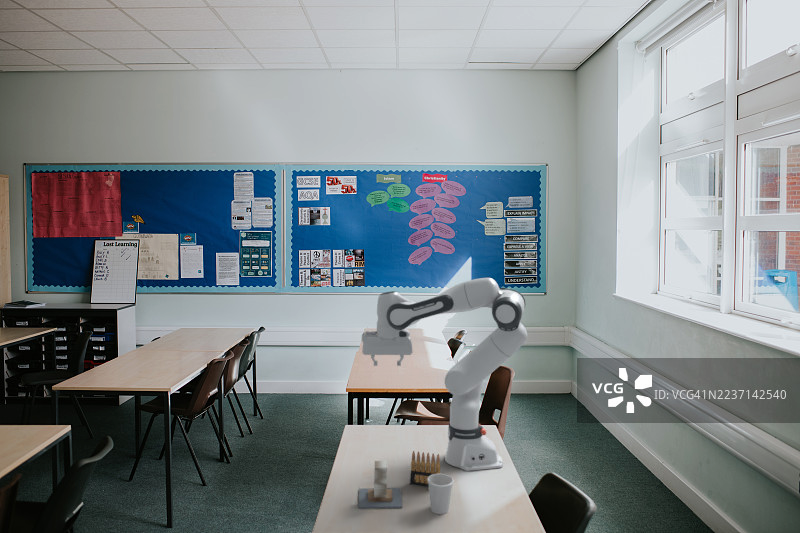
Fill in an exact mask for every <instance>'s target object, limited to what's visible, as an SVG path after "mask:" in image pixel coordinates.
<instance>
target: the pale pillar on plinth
mask: <svg viewBox="0 0 800 533" xmlns="http://www.w3.org/2000/svg"><path fill="white" fill-rule="evenodd" d="M373 469H374V470H373V472H374V473H373V474H374V476H373V479H374V480H373V481H374V482H373V484H374V485H373V488H374V489H368V502H393V497H392V489H387V488H388V487H387V486H388V483H387V480H388V464H387V460H374V468H373Z"/></svg>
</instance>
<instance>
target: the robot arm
mask: <svg viewBox="0 0 800 533" xmlns="http://www.w3.org/2000/svg"><path fill="white" fill-rule="evenodd" d="M480 308H490V309H491V314H492V318H493V320H494V321H495V322H496V325H497V327H496V328H495V330H494V331H492V332H491V333H490V334H489V335H488V336H486V337H485V338H484V339H483V340H482V341H481V342H480V343H479V344H478V345H476V347H475V348H473V349H472V350H471V351H470V352H469V353H467V354H465V356H463V358H461V359H460V360H459V361H458V362H456V363H455V364H454V365H453V366H452V367H451V368H450V369H449V370H448V371H447V373H446V375H445V376H444V386H445V388H446V390H447V391H448V393H450V394H451V395H452V398H451V401H450V406H449V407H450V408H449V423H448V427H447V428H448V429H447V430H448V432H447V437H448V442H447V444H448V445H447V448H446V453H445V457H444V460H445V462H446V463H447V464H449V465H450V466H453V467H455V468H458V469H461V470H463V471H466V472H469V471H470V472H471V471H479V470H480V471H481V470H491V469H499V468H502V467H504V466H503V465H504V460H503V458H502V456H501V455H500V454H499V452H498V450H497V446H496V444H495V443H494V442H493V441H492V440H491V439H490V438H488V437H487V436H486V435H487V430H486V429H485V428H484V427H483V426H482V425H481V423H479V415H480V411H479V410H480V401H481V397H482V391H483V390H482V389H483V384H484V380H485V379H486V378H488V377H489V376H490V375H491V374H492V373H493V372H495V371H496V370H497V369H498V368H499V367H500V366H502V365H503V364H504V363H505V362H507V360H509V358H511V357H512V356H513V355H515V353H516V352H518V350H520V349H521V347H522V346H523V345H524V343H525V342H526V341H527V339H528V332H527V329H526V327H525V326H524V325H523V324H522V322H521V319H522V317H523V315H524V314H525V313H524V312H525V310H526V309H525V308H526V299H525V297H524V295H523V294H522V293H521V292H520V291H517V290H515V289H511V288H507V287H500V286H499V284H498V283H497V281H496V280H495V279H493V278H491V277H482V278H481V277H480V278H474V279H470V280H466V281H462V282H460V283H457V284H455V285H453V286H451V287H449V288H448V289H446V290H445V291H443V292H441V293H439V294H437V295H436V296H434V297H431V298H429V299H426V300H421V301H418V302H417V301H415V300H411V299H409V298H406V297H404V296H403V295H401V294H400V293H399V292H398V291H394V290H393V291H386V292H382V293H380V294H379V295H378V298H377V305H376V314H377V321H376V331H365V332H363V333H362V334H361V342H362V348H361V349H362V354H363V355H364V356H370V359H372V362H373V367H376V366H378V360H376V359H375V357H376V356H399V360H396V363H397V364H396V366H397V367H401V365H402V361H403V360H404V359H405V356H411V355H412V354H413V352H414V351H413V342H412V338H411V337H410V335H411V334H410V331H409V329H407V328H408V327H411V326H412V325H415V324H417V323H418V322H419V321H421V320H423V319H426V318H429V317H432V316H436V315H440V314H441V315H443V314H444V315H445V314H453V313H454V314H455V313H464V312H470V311H473V310H477V309H480Z"/></svg>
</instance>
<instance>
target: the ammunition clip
mask: <svg viewBox="0 0 800 533" xmlns="http://www.w3.org/2000/svg"><path fill="white" fill-rule="evenodd" d="M430 458H431V460H430ZM435 458H436V460H435ZM433 474H441V458H440V454H439V453H438V454H437V455H436V456H435V453H433V452H432V455H431V456H430V452H427V454H426V456H425V452H424V451H422V453H421V454H420V451H419V450H418V451H417V454H416V453H415V450H413V451H412V453H411V462H410V476H409V478H410V479H409V486H410V485H411V486H416V487H424V488H429V485H428V481H427V479H428V477H429V476H430V475H433Z"/></svg>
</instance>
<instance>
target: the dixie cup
mask: <svg viewBox="0 0 800 533" xmlns="http://www.w3.org/2000/svg"><path fill="white" fill-rule="evenodd" d="M427 481H428V485H429V487H428V493H429V494H428V495H429V503H430V504H429V505H430V511H431V512H432V513H434V514H437V515H444V514H447V513H448V512H449V511H450V510H449V509H450V503H451V496H452V490H453V484H454V478H453V477H452V476H450V475H448V474H445V473H440V474H433V475H430V476H429V477H428V479H427Z"/></svg>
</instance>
